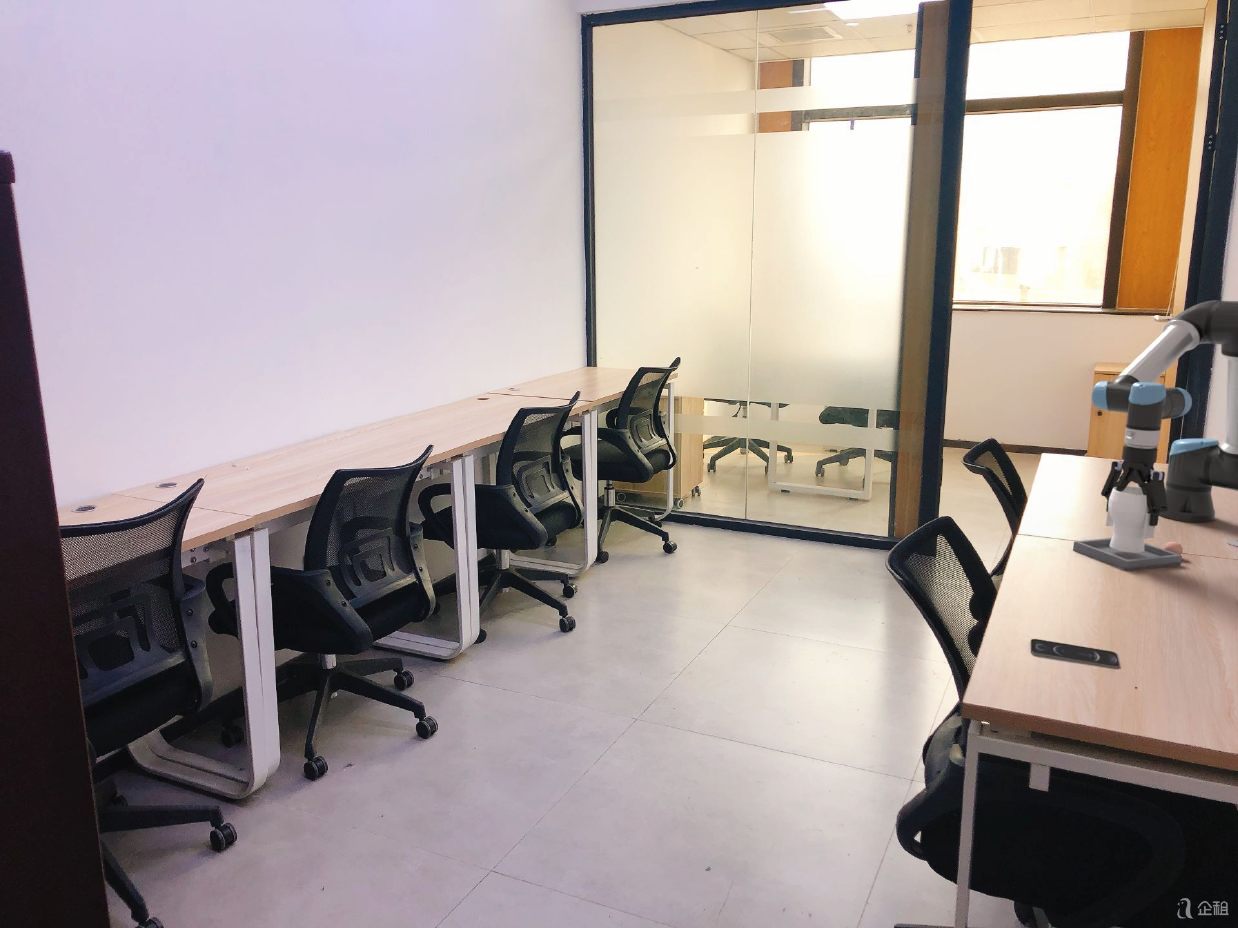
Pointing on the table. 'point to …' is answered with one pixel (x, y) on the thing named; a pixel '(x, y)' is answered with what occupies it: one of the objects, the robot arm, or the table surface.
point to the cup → (1128, 519)
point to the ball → (1174, 547)
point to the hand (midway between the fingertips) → (1129, 531)
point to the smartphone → (1074, 653)
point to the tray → (1127, 555)
